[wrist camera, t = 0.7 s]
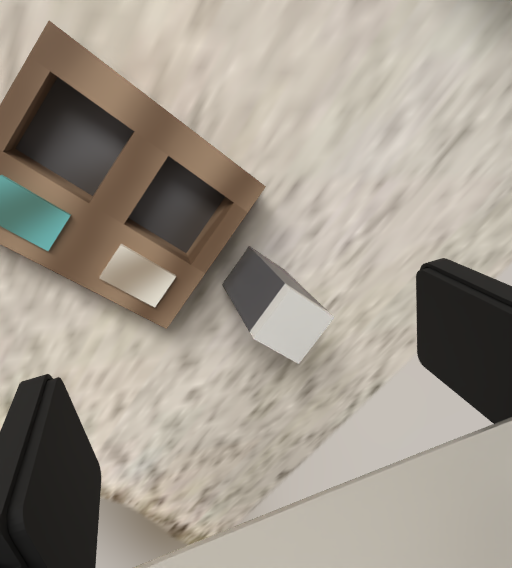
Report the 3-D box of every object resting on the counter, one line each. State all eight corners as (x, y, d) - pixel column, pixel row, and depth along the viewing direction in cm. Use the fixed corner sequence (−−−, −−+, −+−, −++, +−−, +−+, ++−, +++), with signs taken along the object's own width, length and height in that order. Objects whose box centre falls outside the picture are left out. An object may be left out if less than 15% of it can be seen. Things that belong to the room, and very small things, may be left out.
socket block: (252, 180, 33) (267, 187, 30) (163, 310, 35) (167, 331, 31) (58, 32, 26) (47, 18, 23) (-41, 202, 28) (-65, 214, 25)
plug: (284, 269, 37) (334, 317, 28) (258, 305, 37) (298, 364, 28) (249, 246, 35) (290, 288, 26) (222, 284, 36) (253, 338, 27)
